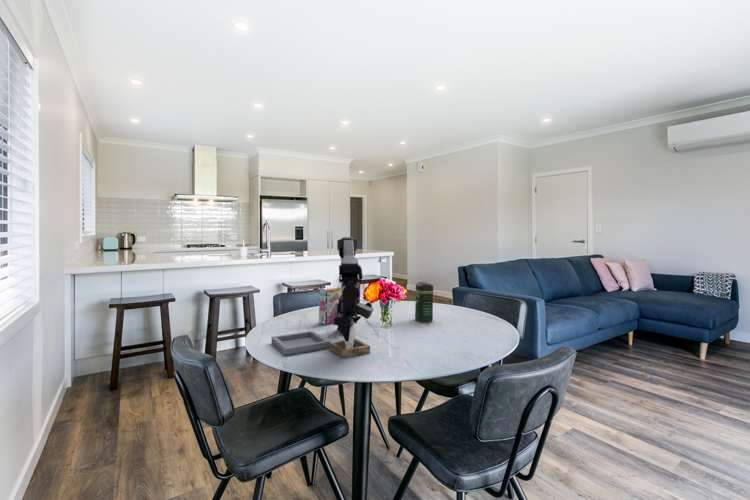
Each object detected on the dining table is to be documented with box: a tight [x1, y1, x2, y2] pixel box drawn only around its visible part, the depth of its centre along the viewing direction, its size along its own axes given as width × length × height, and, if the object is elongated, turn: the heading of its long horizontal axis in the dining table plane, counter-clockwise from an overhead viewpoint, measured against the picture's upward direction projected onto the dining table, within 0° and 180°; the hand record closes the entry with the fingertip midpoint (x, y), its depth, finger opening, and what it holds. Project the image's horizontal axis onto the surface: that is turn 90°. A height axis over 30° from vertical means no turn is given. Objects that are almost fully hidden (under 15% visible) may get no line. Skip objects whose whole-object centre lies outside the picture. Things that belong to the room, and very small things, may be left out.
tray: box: [271, 330, 331, 357], centre depth 144 cm, size 17×17×2 cm
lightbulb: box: [345, 322, 359, 349], centre depth 138 cm, size 6×6×11 cm
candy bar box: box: [318, 286, 342, 326], centre depth 179 cm, size 11×5×16 cm, turn 144°
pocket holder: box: [328, 337, 371, 359], centre depth 138 cm, size 11×11×2 cm
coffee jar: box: [414, 281, 434, 323], centre depth 184 cm, size 10×8×19 cm
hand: (349, 338), depth 138 cm, fingers closed on lightbulb, 5 cm apart
